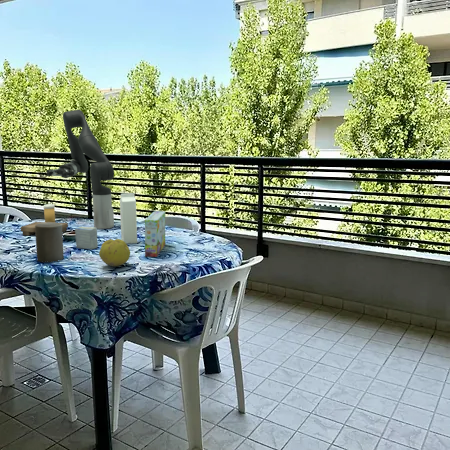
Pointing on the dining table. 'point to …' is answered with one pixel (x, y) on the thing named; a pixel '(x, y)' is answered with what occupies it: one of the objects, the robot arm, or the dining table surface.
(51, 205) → the beer glass
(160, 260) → the dining table surface
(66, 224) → the walnut stand
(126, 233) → the milk
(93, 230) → the medicine box
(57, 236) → the pillar candle
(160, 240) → the snack box
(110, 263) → the fruit
